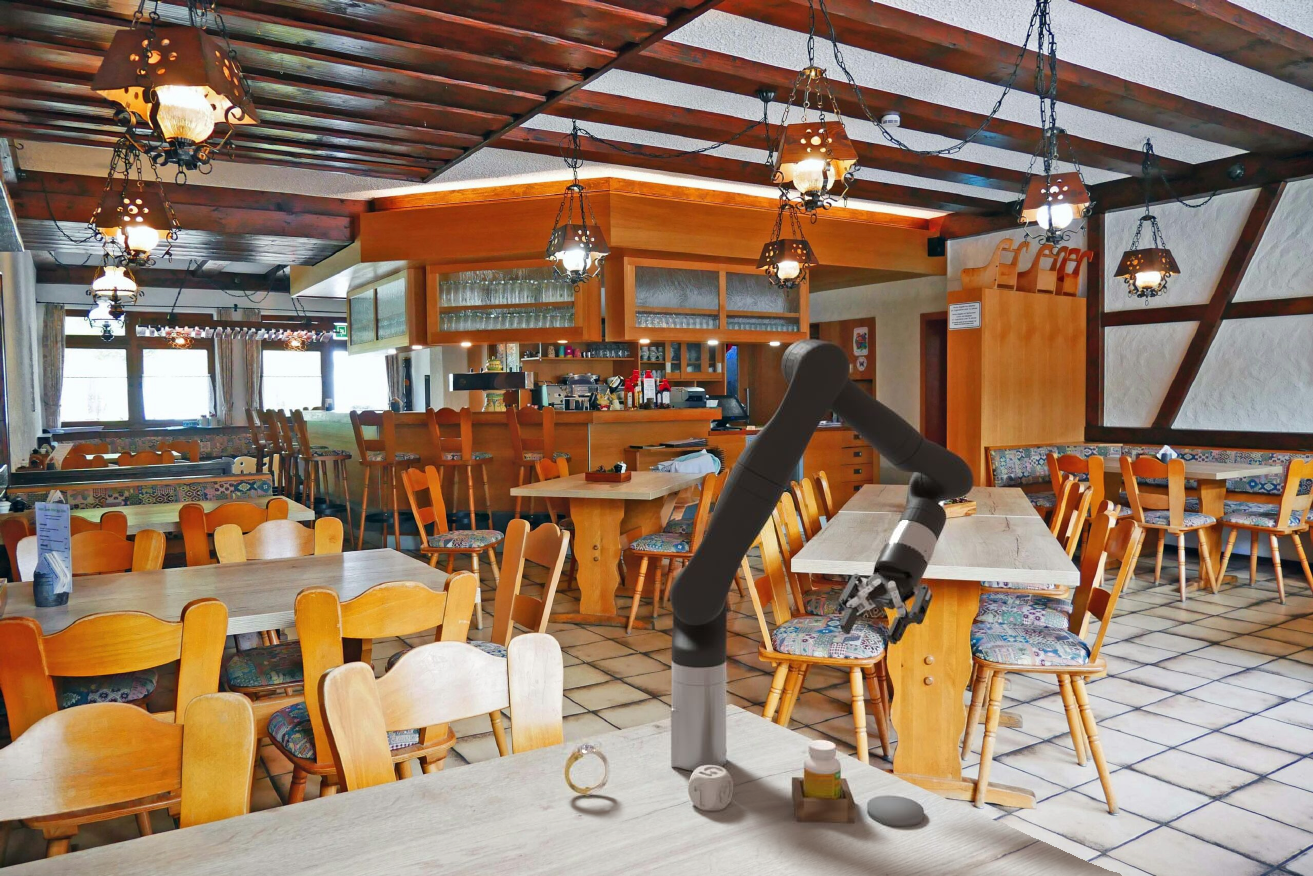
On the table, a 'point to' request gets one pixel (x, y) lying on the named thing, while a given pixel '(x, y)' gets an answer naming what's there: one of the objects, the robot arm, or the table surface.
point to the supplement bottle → (822, 771)
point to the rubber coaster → (895, 811)
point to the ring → (581, 751)
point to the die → (710, 787)
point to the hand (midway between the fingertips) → (867, 636)
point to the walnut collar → (823, 805)
